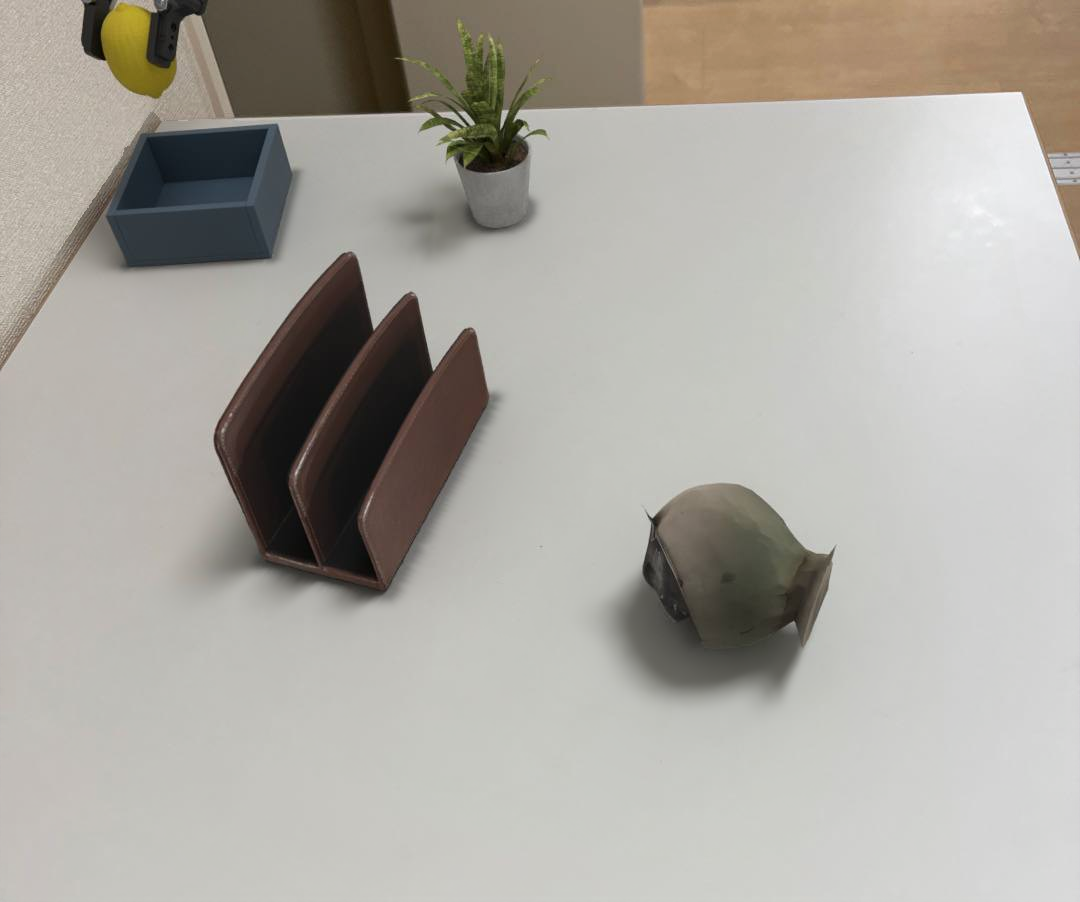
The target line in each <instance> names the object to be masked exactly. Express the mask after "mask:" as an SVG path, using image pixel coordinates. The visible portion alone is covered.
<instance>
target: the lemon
mask: <svg viewBox="0 0 1080 902" xmlns="http://www.w3.org/2000/svg"><path fill="white" fill-rule="evenodd" d="M151 12H152V11H150V10H148V9H147V8H144V7H143V6H139V5H135V4H128V3H126V2H124V1H123V2H118V3H116V5H115V7H114V9H113V10H112V11H111V12H110V13H109V14H108V15H107V17H106V18H105V20H104V22H103V25H102V30H101V42H102V48H103V52H104V55H105V58H106V61H105V62H106V64H107V66H108V68H109V70H110V72H111V74H112V75H113V77H114V78H115V79H116V81H117V82H118V83H119V84H120V85H122V86H123V87H124V88H125V89H126V90H128V91H129V92H131V93H133V94H135V95H139V96H144V97H146V96H147V97H150V98H152V99H153V100H157V99H160V98H161V97H162V95H163V93H164V92H165V91H166V90H168V89H169V88H170V86H171V85H172V83H173V82H174V80H175V77H176V74H177V69H178V62H177V61H178V60H177V56H176V57H175V59H174V61H173V62H171V66H170V68H168V69H166V68H159V67H157V66H155V65H153V64H151V63H149V62H148V61H147V58H146V52H147V44H148V36H149V28H150V19H151Z"/></svg>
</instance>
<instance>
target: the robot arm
mask: <svg viewBox="0 0 1080 902" xmlns="http://www.w3.org/2000/svg"><path fill="white" fill-rule="evenodd" d="M80 1H81V2H82V4H83V15H82V16H83V17H82V25H81V33H80V42H81V47H82V49H83V52H84V53H85V55H87V56H89V57H90V58H93V59H95V60H97V61H105V62H107V61H106V58H105V55H104V52H103V48H102V42H101V30H102V25H103V22H104V20H105V18H106V17H107V15H108V14H109V13H110V12H111V11H112V10H113V9H115V8H116V6H117V2H118V0H80ZM152 1H153V5H154V8H155V10H156V12H155V11H150V12H151V19H150V28H149V36H148V44H147V52H146V58H147V61H148V62H149V63H151V64H153V65H155V66H157V67H159V68H166V69H168V68H170V66H171V62H173V61H174V59H175V57H176V58H177V51H178V43H179V42H178V41H179V37H180V36H179V35H180V27H181V23H182V22H183V21H184V20H185V18H187V17H188V16H189V17H190V16H191V15H195V16H198V17H201V16H202V15H204V14H205V12H206V9H207V6H208V1H209V0H152Z"/></svg>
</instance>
